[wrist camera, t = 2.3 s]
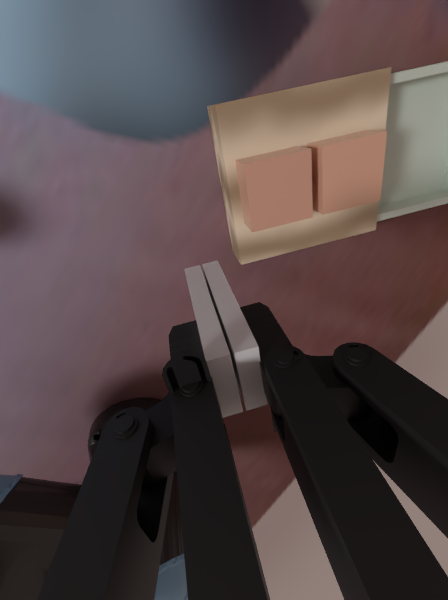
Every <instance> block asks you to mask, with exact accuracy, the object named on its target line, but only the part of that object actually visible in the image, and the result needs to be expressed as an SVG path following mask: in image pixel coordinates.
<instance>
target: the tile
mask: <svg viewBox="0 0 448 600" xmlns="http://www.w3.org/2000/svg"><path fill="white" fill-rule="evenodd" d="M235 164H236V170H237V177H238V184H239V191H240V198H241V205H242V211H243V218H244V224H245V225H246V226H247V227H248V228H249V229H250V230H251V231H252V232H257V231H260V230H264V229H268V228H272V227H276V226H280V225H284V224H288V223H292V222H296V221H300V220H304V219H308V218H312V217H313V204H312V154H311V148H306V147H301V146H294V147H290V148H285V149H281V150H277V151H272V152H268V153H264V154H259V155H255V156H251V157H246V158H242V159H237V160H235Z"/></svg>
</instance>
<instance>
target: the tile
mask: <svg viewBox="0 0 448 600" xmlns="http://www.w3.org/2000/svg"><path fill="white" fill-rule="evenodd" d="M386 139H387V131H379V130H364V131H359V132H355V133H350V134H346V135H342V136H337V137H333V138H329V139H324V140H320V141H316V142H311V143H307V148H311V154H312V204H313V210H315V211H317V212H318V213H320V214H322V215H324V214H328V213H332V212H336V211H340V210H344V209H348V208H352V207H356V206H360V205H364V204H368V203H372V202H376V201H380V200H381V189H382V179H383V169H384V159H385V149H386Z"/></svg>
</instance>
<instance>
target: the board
mask: <svg viewBox="0 0 448 600" xmlns="http://www.w3.org/2000/svg"><path fill="white" fill-rule="evenodd" d="M390 78H391V67H389V68H385V69H380V70H375V71H370V72H366V73H361V74H356V75H352V76H347V77H342V78H337V79H333V80H328V81H323V82H319V83H314V84H309V85H305V86H300V87H295V88H291V89H286V90H281V91H277V92H272V93H267V94H262V95H258V96H253V97H248V98H244V99H239V100H234V101H230V102H225V103H220V104H216V105H211V106H207V107H208V113H209V119H210V125H211V130H212V136H213V142H214V147H215V153H216V159H217V164H218V170H219V176H220V181H221V187H222V193H223V199H224V204H225V210H226V216H227V221H228V227H229V233H230V238H231V244H232V250H233V253H234V254H235V256H236V257H237V259H238V260H239V262H240V264H241V265H243V264H246V263H250V262H254V261H258V260H262V259H266V258H269V257H273V256H277V255H281V254H285V253H289V252H293V251H296V250H300V249H304V248H308V247H312V246H316V245H319V244H323V243H327V242H331V241H335V240H339V239H343V238H346V237H350V236H354V235H358V234H362V233H366V232H369V231H373V230H376V223H377V213H378V202H379V201H376V202H372V203H368V204H364V205H360V206H356V207H352V208H348V209H344V210H340V211H336V212H332V213H328V214H324V215H322V214H320V213H318V212H317V211H315V210H313V217H312V218H308V219H304V220H300V221H296V222H292V223H288V224H284V225H280V226H276V227H272V228H268V229H264V230H260V231H257V232H252V231H251V230H250V229H249V228H248V227H247V226H246V225H245V224H244V218H243V211H242V205H241V198H240V191H239V184H238V177H237V170H236V164H235V160H237V159H242V158H246V157H251V156H255V155H259V154H264V153H268V152H272V151H277V150H281V149H285V148H290V147H294V146H301V147H306V148H307V143H311V142H316V141H320V140H324V139H329V138H333V137H337V136H342V135H346V134H350V133H355V132H359V131H364V130H379V131H385V130H386V119H387V109H388V98H389V88H390Z"/></svg>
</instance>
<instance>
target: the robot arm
mask: <svg viewBox="0 0 448 600" xmlns="http://www.w3.org/2000/svg"><path fill="white" fill-rule="evenodd" d="M202 266H203V270H204V274H205V278H206V282H205V279H204V276H203V273H202V270H201V268H200V265H198V266H194V267H190V268H186V269H184V270H185V274H186V279H187V283H188V287H189V292H190V296H191V300H192V304H193V309H194V313H195V317H196V320H195V321H191V322H188V323H184V324H180V325H177V326H173V327H172V330H171V332H170V334H169V345H170V357H171V360H170V361H168V362H167V364H166V365H165V367H164V368H163V373H162V376H163V378H164V380H165V383H166V385H167V388H168V390H169V393H168V395H167V396H166V397H165V398H164V399H163V400H162V401H161V400H156V399H134V400H129V401H125V402H122V403H119V404H116V405H114V406H112V407H110V408H108V409H106V410H105V411H104V412H102V413H101V414H100V415H99V416H98V417H97V418H96V419H95V421H94V422H93V424H92V426H91V429H90V434H89V439H88V452H89V457H90V465H89V467H88V470H87V473H86V475H85V478H84V480H83V483H82V485H79V484H70V483H62V482H55V481H47V480H40V479H33V478H26V477H22V476H23V475H22V474H18V475H16V476H11V475H0V600H270V597H269V593H268V589H267V586H266V582H265V578H264V574H263V570H262V566H261V562H260V559H259V555H258V551H257V547H256V543H255V539H254V535H253V531H252V528H251V524H250V520H249V516H248V512H247V508H246V504H245V500H244V497H243V493H242V489H241V485H240V481H239V477H238V473H237V470H236V466H235V462H234V458H233V454H232V450H231V446H230V442H229V439H228V435H227V431H226V428H225V424H224V420H223V418H224V417H228V416H231V415H234V414H238V413H241V412H243V409H242V404H241V400H240V395H239V391H238V386H239V389H240V392H241V395H242V398H243V401H244V404H245V407H246V410H247V411H248V410H251V409H254V408H258V407H261V406H264V405H267V400H268V402H269V405H270V407H271V413H272V420H273V426H274V432H276V431H278V434H279V436H280V439H281V441H282V444H283V446H284V449H285V451H286V454H287V456H288V459H289V461H290V464H291V466H292V469H293V471H294V474H295V476H296V479H297V481H298V484H299V486H300V489H301V491H302V494H303V496H304V499H305V501H306V504H307V507H308V509H309V512H310V514H311V517H312V519H313V522H314V524H315V527H316V529H317V532H318V534H319V537H320V539H321V542H322V544H323V547H324V549H325V551H326V554H327V557H328V559H329V562H330V564H331V567H332V569H333V572H334V574H335V577H336V579H337V582H338V584H339V587H340V590H341V592H342V594H343V597H344V600H448V577H447V575H446V573H445V572H444V570H443V569H442V568H441V566H440V564H439V563H438V561H437V560H436V558H435V556H434V555H433V553H432V552H431V550H430V548H429V547H428V546H427V544H426V542H425V541H424V539H423V538H422V536H421V535H420V533H419V531H418V530H417V529H416V527H415V525H414V524H413V522H412V520H411V519H410V517H409V516H408V514H407V513H406V511H405V510H404V508H403V506H402V505H401V503H400V502H399V500H398V499H397V497H396V495H395V494H394V492H393V491H392V489H391V488H390V486H389V485H388V483H387V481H386V480H385V478H384V477H383V475H382V474H381V472H380V471H379V469H378V467H377V466H376V464H377V465H378V466H379V467H380V468H381V469H382V470H383V471H384V472H385V473H386V474H387V475H388V476H389V477H390V478H391V479H392V480H393V481H394V482H395V483H396V484H397V486H399V488H400V489H401V490H402V491H403V492H404V493H405V494H406V495H407V496H408V497H409V498H410V499H411V500H412V501H413V502H414V503H415V504H416V505H417V506H418V507H419V509H420V510H421V511H422V512H424V514H425V515H426V516H427V517H428V518H429V519H430V520H431V521H432V522H433V523H434V524H435V525H436V526H437V527H438V528H439V530H441V532H442V533H443V534H444V535H445V536H446V537H447V538H448V399H447V398H445V397H444V396H442V395H441V394H439V393H438V392H436V391H435V390H434V389H432V388H430V387H429V386H428V385H426V384H425V383H423V382H422V381H420V380H419V379H418V378H416V377H415V376H413V375H412V374H410V373H409V372H407V371H406V370H404V369H403V368H401V367H400V366H399V365H397V364H396V363H394V362H393V361H391V360H390V359H388V358H387V357H385V356H384V355H382V354H381V353H380V352H378V351H377V350H375V349H374V348H372V347H370V346H368V345H366V344H361V343H346V344H343V345H340V346H339V347H338V348H336V349H335V351H334V354H333V356H310V355H306V354H304V353H303V352H302V351H301V350H300V349H298V348H296V347H293V346H292V344H291V343H290V341H289V339H288V338H287V336H286V335H285V333H284V331H283V330H282V328H281V327H280V325H279V323H277V320H276V319H275V317H274V316H273V314H272V312H271V311H270V309H269V308H268V307H267V306H265V305H263V304H262V303H260V302H258V303H254V304H251V305H247V306H243V307H239V305H238V303H237V301H236V299H235V296H234V294H233V292H232V290H231V288H230V286H229V284H228V282H227V280H226V278H225V276H224V273H223V271H222V269H221V267H220V265H219V263H218V261H214V262H210V263H206V264H202ZM206 283H207V285H206ZM207 287H208V288H207ZM235 377H236V378H235ZM236 380H237V382H236ZM237 383H238V386H237ZM266 398H267V399H266ZM372 459H373V460H374V461H375V463H376V464H375V463H374V461H373V460H372Z"/></svg>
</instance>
